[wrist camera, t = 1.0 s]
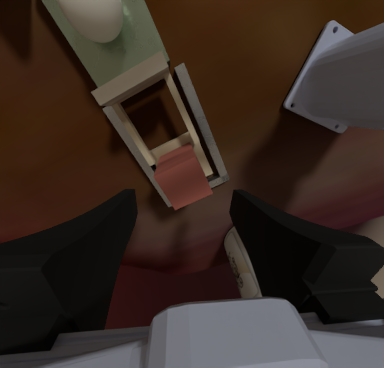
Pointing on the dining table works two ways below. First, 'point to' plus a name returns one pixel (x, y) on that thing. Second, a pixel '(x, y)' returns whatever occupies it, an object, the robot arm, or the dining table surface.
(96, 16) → the ball
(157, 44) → the track
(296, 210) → the dining table surface
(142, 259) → the dining table surface
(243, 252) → the mug
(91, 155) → the dining table surface
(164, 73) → the carriage
